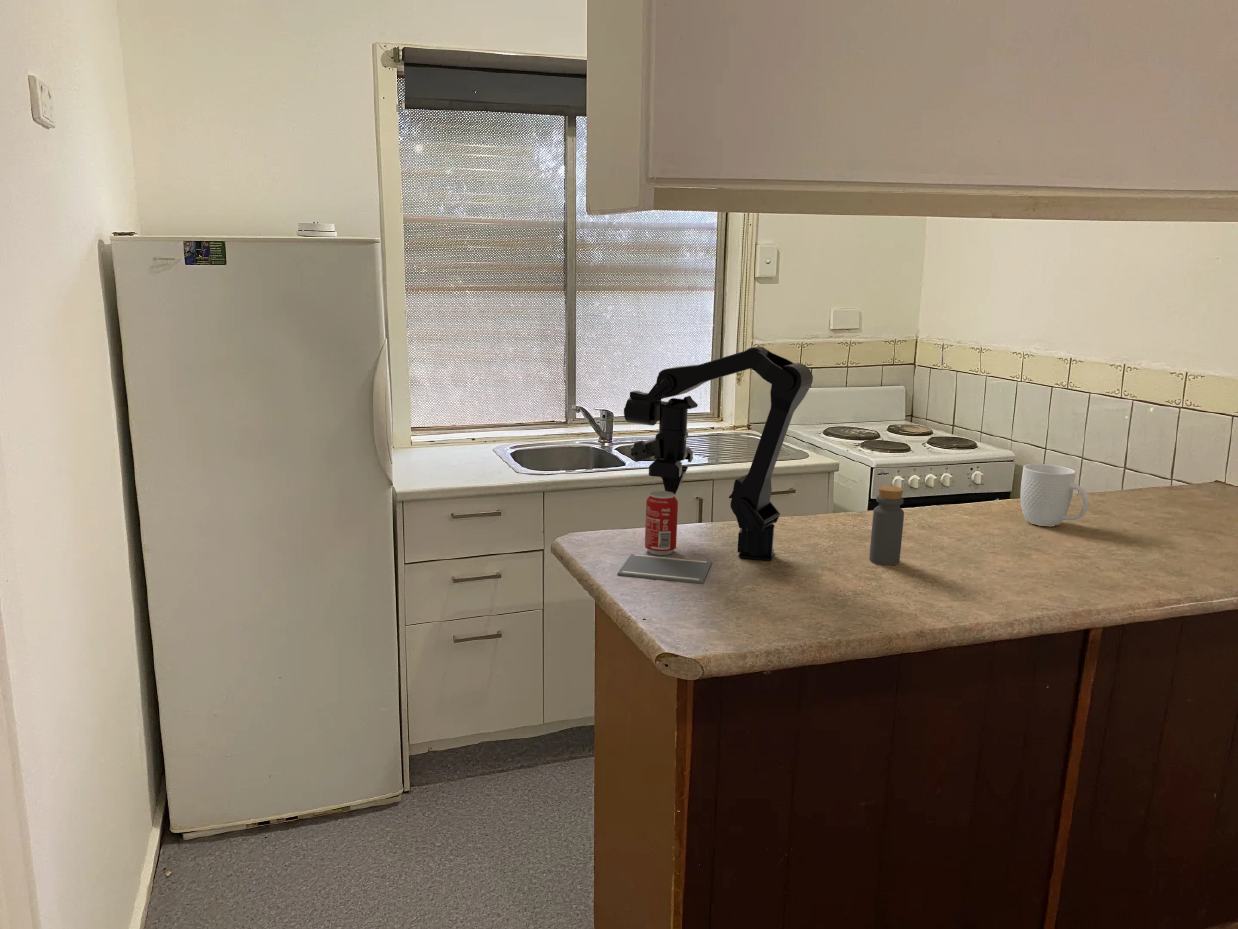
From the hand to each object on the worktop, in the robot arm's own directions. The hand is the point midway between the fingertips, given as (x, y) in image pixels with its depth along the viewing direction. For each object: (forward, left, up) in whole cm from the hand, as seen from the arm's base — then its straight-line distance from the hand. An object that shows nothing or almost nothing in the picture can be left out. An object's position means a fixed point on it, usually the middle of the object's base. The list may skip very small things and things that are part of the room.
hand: (670, 501), depth 196 cm
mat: (-3, +20, -8) cm, 22 cm away
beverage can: (0, +9, -8) cm, 13 cm away
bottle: (-44, +2, -8) cm, 45 cm away
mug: (-82, -38, -8) cm, 91 cm away
